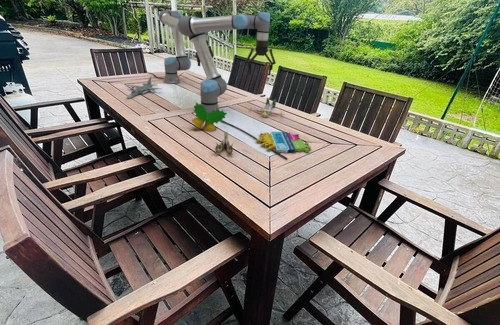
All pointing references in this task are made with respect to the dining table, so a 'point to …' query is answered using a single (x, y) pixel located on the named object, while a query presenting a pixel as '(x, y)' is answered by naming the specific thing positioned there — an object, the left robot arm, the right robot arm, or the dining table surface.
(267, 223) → the dining table surface
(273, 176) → the dining table surface
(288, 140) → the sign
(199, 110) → the ornament
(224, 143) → the jawbone
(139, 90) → the airplane
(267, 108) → the toy
